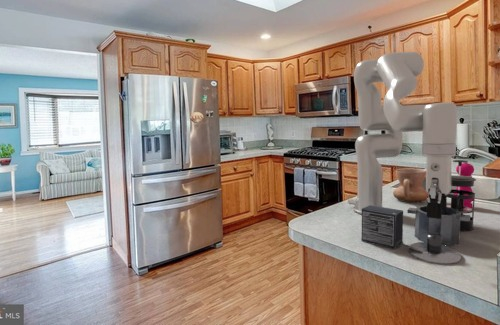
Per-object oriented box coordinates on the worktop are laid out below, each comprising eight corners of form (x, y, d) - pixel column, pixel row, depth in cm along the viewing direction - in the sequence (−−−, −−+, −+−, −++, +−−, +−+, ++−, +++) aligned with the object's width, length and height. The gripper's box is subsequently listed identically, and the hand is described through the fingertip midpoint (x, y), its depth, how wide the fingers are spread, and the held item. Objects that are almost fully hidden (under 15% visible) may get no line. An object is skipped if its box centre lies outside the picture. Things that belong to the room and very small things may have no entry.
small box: (403, 243, 92) (404, 209, 90) (395, 250, 87) (396, 215, 86) (369, 235, 99) (370, 204, 98) (360, 240, 95) (360, 208, 93)
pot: (403, 238, 95) (404, 211, 94) (411, 227, 104) (412, 202, 103) (467, 250, 85) (468, 219, 84) (469, 237, 94) (471, 209, 93)
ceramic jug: (399, 194, 150) (399, 166, 148) (432, 198, 140) (433, 168, 138) (387, 203, 137) (387, 172, 135) (422, 207, 127) (423, 174, 125)
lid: (404, 257, 83) (404, 237, 82) (413, 242, 92) (414, 224, 92) (458, 270, 75) (459, 248, 74) (462, 252, 85) (463, 232, 84)
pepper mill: (477, 209, 121) (480, 160, 118) (457, 209, 122) (459, 160, 120) (468, 205, 128) (470, 158, 125) (449, 204, 129) (451, 158, 127)
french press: (444, 219, 111) (447, 157, 108) (476, 225, 104) (480, 159, 101) (436, 228, 103) (439, 161, 100) (470, 234, 96) (474, 163, 93)
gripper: (452, 153, 71) (449, 224, 73) (458, 148, 84) (456, 208, 86) (416, 152, 75) (414, 219, 77) (427, 148, 89) (426, 204, 91)
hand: (436, 213), depth 82 cm, fingers open, 9 cm apart
